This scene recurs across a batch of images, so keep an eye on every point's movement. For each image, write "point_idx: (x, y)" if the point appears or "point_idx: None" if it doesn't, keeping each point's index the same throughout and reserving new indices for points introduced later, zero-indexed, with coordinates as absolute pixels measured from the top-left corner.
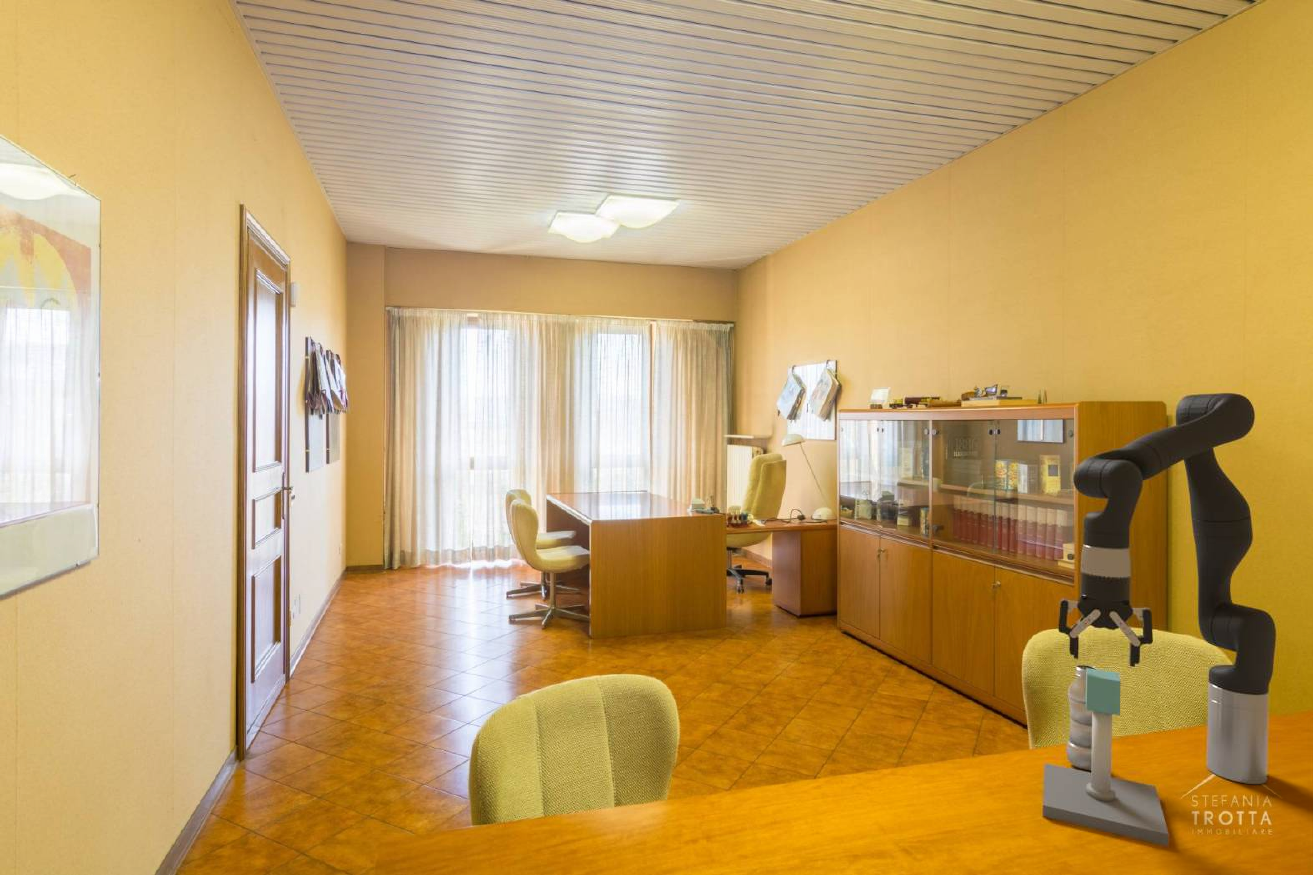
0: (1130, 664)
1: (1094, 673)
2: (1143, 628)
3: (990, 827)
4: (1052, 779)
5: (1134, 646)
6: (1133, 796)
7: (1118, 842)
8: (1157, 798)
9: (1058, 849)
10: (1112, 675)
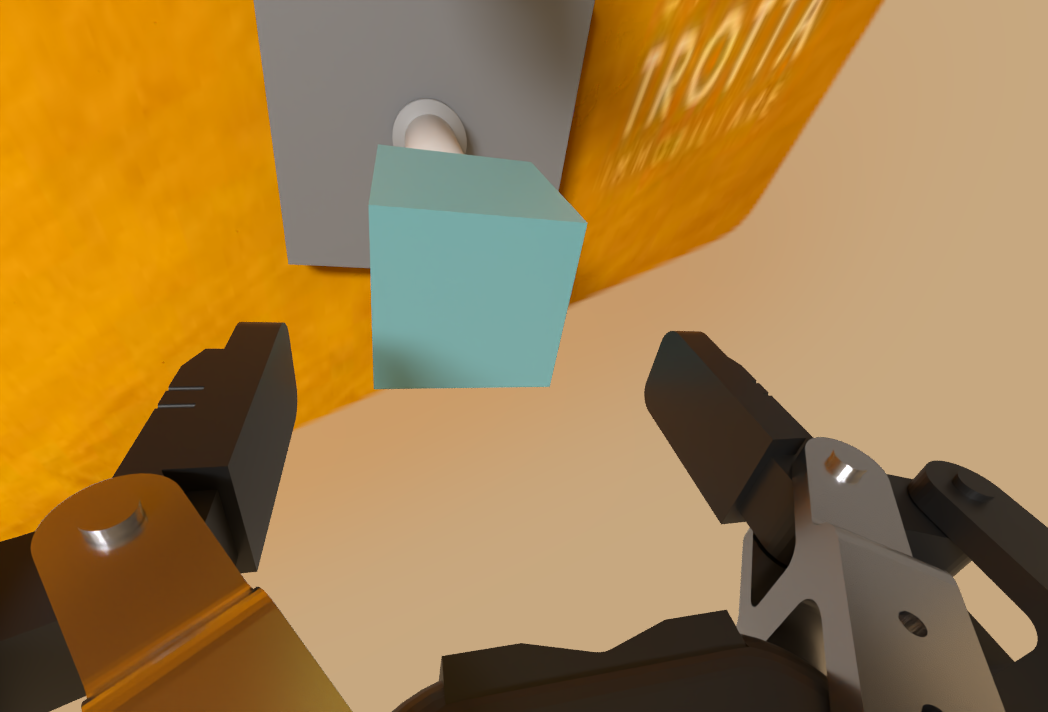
0: (648, 410)
1: (422, 316)
2: (1028, 611)
3: (197, 349)
4: (291, 76)
5: (744, 521)
6: (514, 104)
7: None
8: (574, 88)
9: (338, 364)
10: (530, 306)
